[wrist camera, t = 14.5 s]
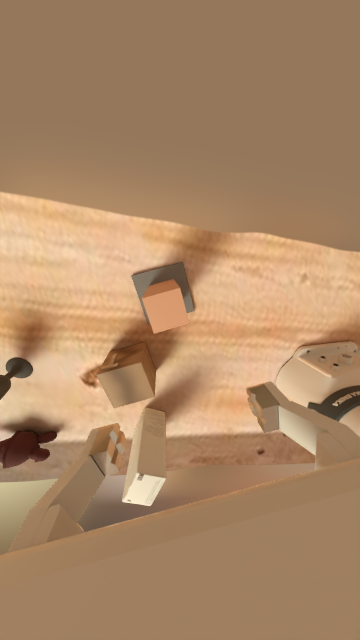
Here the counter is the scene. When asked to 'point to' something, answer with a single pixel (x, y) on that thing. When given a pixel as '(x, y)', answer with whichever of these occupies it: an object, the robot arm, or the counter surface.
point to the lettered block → (128, 375)
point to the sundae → (14, 373)
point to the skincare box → (147, 459)
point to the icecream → (24, 448)
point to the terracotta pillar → (165, 306)
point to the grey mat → (160, 276)
